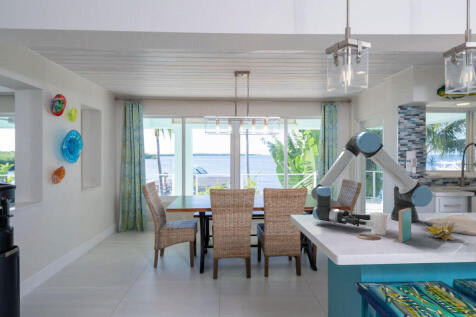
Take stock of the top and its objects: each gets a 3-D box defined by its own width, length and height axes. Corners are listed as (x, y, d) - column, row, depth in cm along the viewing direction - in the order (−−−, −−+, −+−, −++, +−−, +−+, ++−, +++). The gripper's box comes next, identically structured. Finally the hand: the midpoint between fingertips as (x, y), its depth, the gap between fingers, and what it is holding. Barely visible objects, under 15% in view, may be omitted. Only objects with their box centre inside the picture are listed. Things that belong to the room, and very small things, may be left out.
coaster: (362, 233, 158) (362, 232, 157) (384, 237, 150) (384, 236, 150) (351, 237, 150) (351, 236, 150) (375, 242, 142) (375, 241, 142)
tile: (407, 237, 149) (407, 207, 149) (411, 237, 148) (411, 208, 148) (398, 242, 141) (398, 210, 141) (402, 242, 140) (402, 211, 140)
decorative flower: (416, 230, 158) (422, 211, 157) (440, 235, 156) (445, 217, 155) (430, 240, 143) (437, 219, 142) (456, 246, 142) (463, 225, 141)
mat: (404, 236, 153) (404, 235, 153) (445, 242, 141) (445, 241, 141) (392, 242, 142) (392, 241, 142) (435, 250, 130) (435, 249, 130)
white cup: (377, 236, 153) (377, 215, 153) (366, 232, 161) (366, 212, 161) (390, 234, 155) (390, 214, 155) (379, 231, 163) (379, 212, 163)
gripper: (350, 220, 182) (388, 225, 166) (327, 226, 164) (367, 233, 149) (350, 207, 182) (388, 211, 166) (327, 212, 164) (367, 218, 149)
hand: (378, 222), depth 158 cm, fingers open, 13 cm apart
